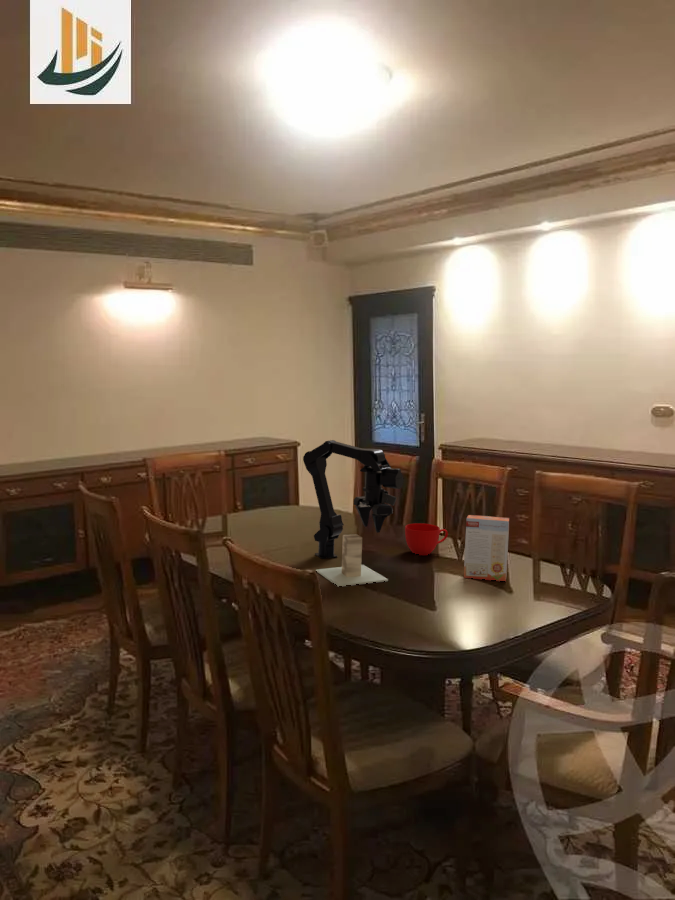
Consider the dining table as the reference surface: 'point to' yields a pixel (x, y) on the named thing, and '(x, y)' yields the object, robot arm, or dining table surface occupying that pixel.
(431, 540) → the ceramic cup
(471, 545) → the cracker box
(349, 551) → the birch block
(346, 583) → the sage mat
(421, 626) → the dining table surface
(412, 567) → the dining table surface
